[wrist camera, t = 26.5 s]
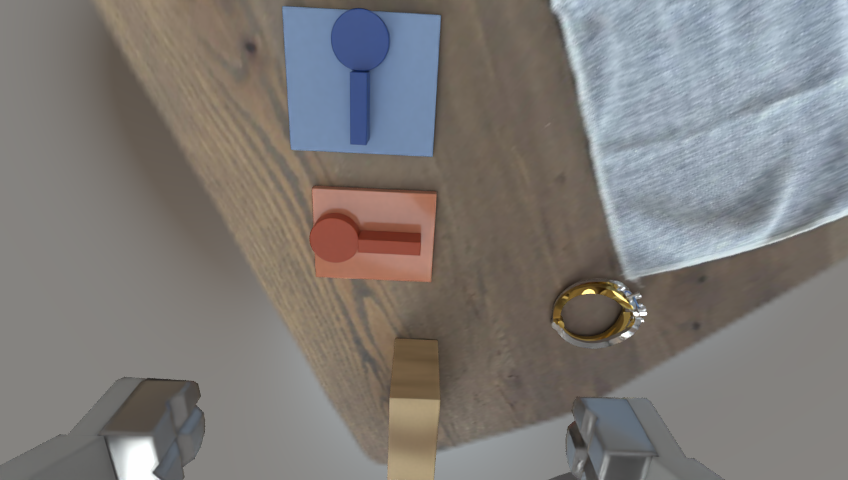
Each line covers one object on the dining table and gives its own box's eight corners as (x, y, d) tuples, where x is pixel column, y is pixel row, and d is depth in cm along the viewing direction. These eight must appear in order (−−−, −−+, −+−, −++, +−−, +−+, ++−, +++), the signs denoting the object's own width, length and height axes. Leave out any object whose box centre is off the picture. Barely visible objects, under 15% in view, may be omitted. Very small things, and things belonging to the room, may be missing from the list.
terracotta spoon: (422, 217, 39) (421, 226, 37) (419, 260, 40) (419, 271, 38) (311, 211, 39) (305, 220, 37) (313, 255, 40) (308, 266, 38)
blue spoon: (387, 141, 36) (385, 146, 34) (335, 138, 36) (330, 143, 34) (391, 10, 33) (389, 9, 31) (333, 7, 33) (327, 5, 31)
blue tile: (432, 154, 37) (432, 157, 37) (293, 147, 37) (290, 149, 37) (440, 15, 34) (441, 14, 33) (284, 6, 33) (281, 5, 33)
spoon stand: (432, 413, 48) (433, 482, 41) (392, 412, 48) (387, 480, 41) (437, 339, 44) (440, 399, 37) (395, 337, 44) (389, 397, 37)
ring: (559, 343, 46) (647, 325, 44) (563, 364, 43) (656, 347, 41) (540, 283, 43) (631, 261, 41) (542, 301, 41) (640, 279, 38)
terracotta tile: (431, 278, 42) (431, 282, 41) (317, 272, 42) (315, 277, 41) (436, 191, 39) (436, 194, 38) (313, 185, 38) (311, 188, 38)
